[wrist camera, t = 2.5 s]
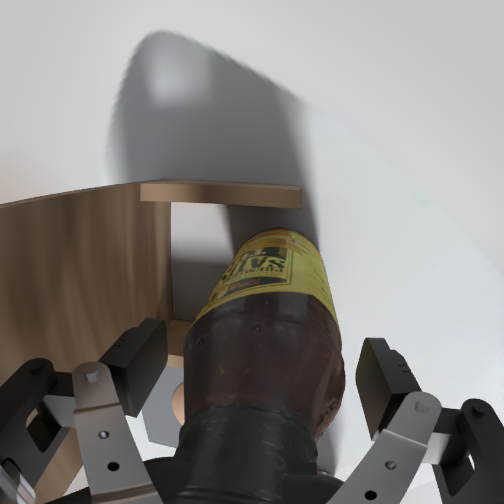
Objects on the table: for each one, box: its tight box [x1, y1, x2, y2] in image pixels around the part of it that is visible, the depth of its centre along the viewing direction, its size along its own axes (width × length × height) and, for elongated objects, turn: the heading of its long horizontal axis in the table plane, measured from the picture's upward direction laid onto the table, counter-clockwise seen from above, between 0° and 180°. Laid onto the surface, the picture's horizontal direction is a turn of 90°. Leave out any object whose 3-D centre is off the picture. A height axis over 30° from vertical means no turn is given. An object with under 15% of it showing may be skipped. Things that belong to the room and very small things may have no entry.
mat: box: [141, 366, 185, 448], centre depth 26 cm, size 16×14×1 cm
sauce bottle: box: [163, 228, 346, 504], centre depth 13 cm, size 6×6×20 cm
